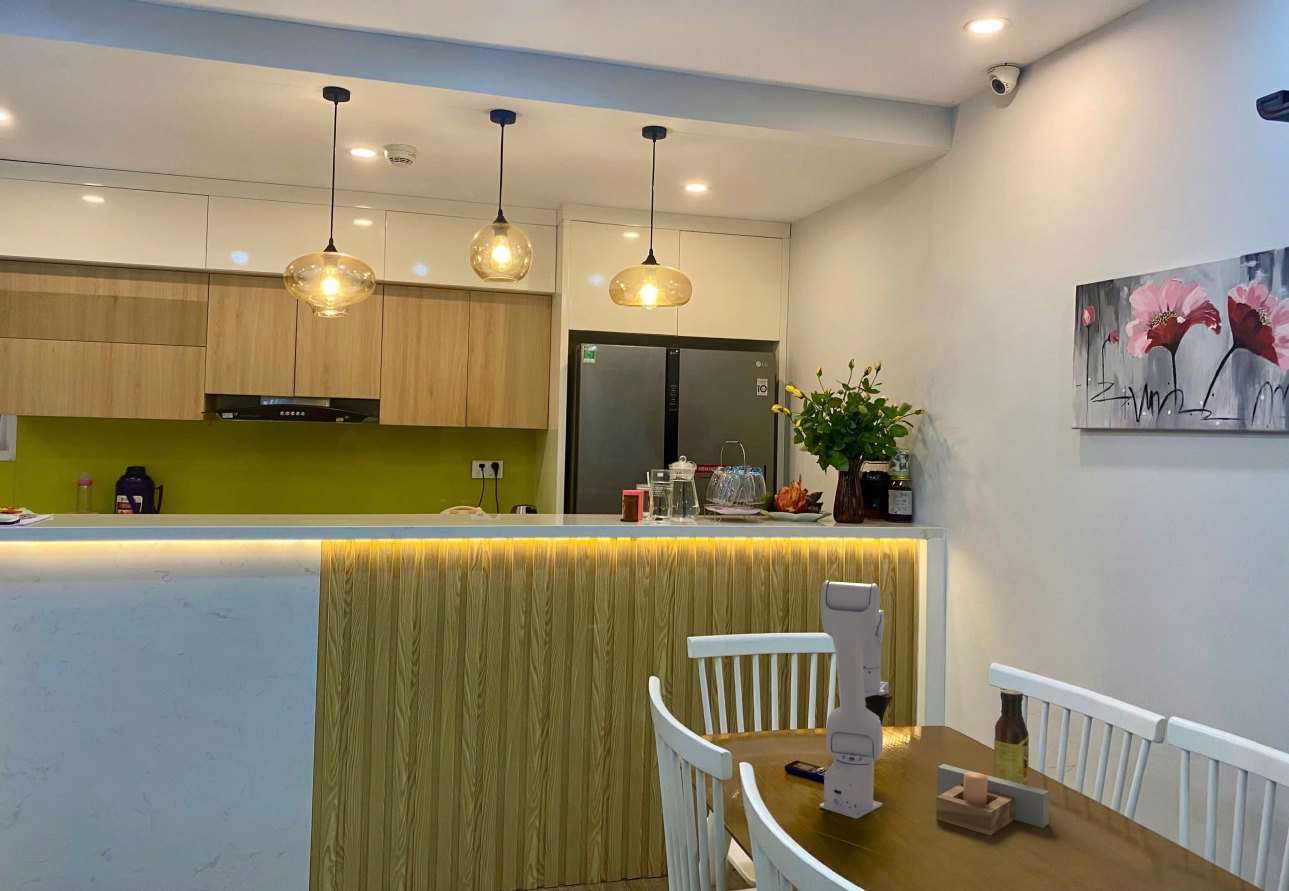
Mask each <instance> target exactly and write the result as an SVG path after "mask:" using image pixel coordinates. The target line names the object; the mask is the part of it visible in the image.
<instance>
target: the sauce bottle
mask: <svg viewBox="0 0 1289 891" xmlns="http://www.w3.org/2000/svg"><path fill="white" fill-rule="evenodd" d="M1000 700H1001V710H1000V712H1001V715H1000V717H999V718H998V720H997V721H996V722H995V725H994V741H993V742H994V743H993V744H994V750H993V751H994V755H993V756H994V758H993V761H994V762H993V763H994V764H993V765H994V766H993V770H994V771H993V774H994V775H993V777H996V778H1000V779H1004V780H1008V781H1012V782H1015V783H1019V784H1023V785H1027V786H1029V769H1030V768H1029V765H1030V764H1029V761H1030V760H1029V756H1030V754H1029V750H1030V748H1029V743H1030V742H1029V741H1030V740H1029V739H1030V738H1029V736H1030V734H1029V732H1028V729H1027V725H1026V723H1025V719H1024V717H1023V700H1024V694H1023V692H1022V691H1019V690H1015V689H1014V690H1013V689H1002V690H1001V691H1000Z"/></svg>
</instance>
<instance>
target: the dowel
mask: <svg viewBox="0 0 1289 891" xmlns="http://www.w3.org/2000/svg"><path fill="white" fill-rule="evenodd" d="M986 775H987V774H983V773H981V772H975V771H973V772H966V773H964V790H963V800H964V801H968V802H972V803H975V804H979V805H982V806H986V805H987V782H988V777H987V776H986Z"/></svg>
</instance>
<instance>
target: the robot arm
mask: <svg viewBox="0 0 1289 891" xmlns="http://www.w3.org/2000/svg"><path fill="white" fill-rule="evenodd" d="M820 589H821V590H820V602H819V603H820V604H819V605H820V616H821V626H822V628H823V629H822V630H823V632H824V633H825V634H826V635H828V636H829V637H831V639H832V641H833V642H832V643H833V645H834V646H833V647H834V650H835V658H836V660H835V661H836V671H837V683H838V696H839V700H838V706H839V707H837V708H834V709H832V710H831V711H830V713H829V715H828V716H827V721H826V735H825V746H826V747H825V748H826V750H827V752H828V753H829V754H831V755H832V759H833V762H832V764H831V765H830V766H828V767H827V769H826V770H825V771H824V776H823V780H824V782H823V802H822V803H820V804H819V808H821V809H823V810H824V809H825V810H827V811H831V812H834V813H837V814H840V815H843V816H847V817H850V818H852V819H859V818H861V817H863V816H865V815H867V814H869V813H871V812H873V811H875V810H877V809H879V808H881V807H883V803H882V802H879V801H878V800H874V779H875V776H874V775H875V773H874V772H875V771H874V770H875V760H876V761H877V760H879V758H881V757H882V753H883V744H884V742H883V740H884V739H883V738H884V737H883V736H884V732H883V727H882V724H883V720H884V717H885V714H886V710H887V708H888V707H889V704H890V703H891V701H892V699H893V695H891V694H888V692H889V682H887V681H883V680H881V678H882V677H881V676H882V674H881V673H882V671H881V670H882V667H881V666H882V644H883V638H884V637H883V636H884V630H885V621H886V620H885V617H886V615H885V611H884V609H881V607H880V606H881V603H880V602H881V593H880V592H881V591H880V587H879V586H878V585H877V583H856V582H839V581H830V580H825V581H824V582H823V583H822V586H821V588H820Z"/></svg>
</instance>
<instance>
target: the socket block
mask: <svg viewBox="0 0 1289 891" xmlns="http://www.w3.org/2000/svg"><path fill="white" fill-rule="evenodd" d="M963 790H964V784H960V785H958V786H956V787H954V788H952V789H950V790H949V791H947V792H945V793H943V794H941V795H939V796H937V795H936V803H935V804H936V805H935V806H936V811H935V813H936V814H935V815H936V816H935V819H936V820H937V821H941V822H944V823H948V824H951V825H954V826H958V827H961V828H964V829H967V830H972V831H974V832H977V833H980V834H984V835H987V836H992V835H994V834H995V833H997V832H998V831H999V830H1001V829H1002V828H1004V827H1006V826H1007V825H1009V824H1010V823H1012V822H1013V821H1015V820H1014V797H1010V796H1006V795H1002V794H999V793H995V792H991V791H988V790H987V805H986V806H982V805H979V804H975V803H972V802H968V801H964V800H963Z"/></svg>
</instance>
